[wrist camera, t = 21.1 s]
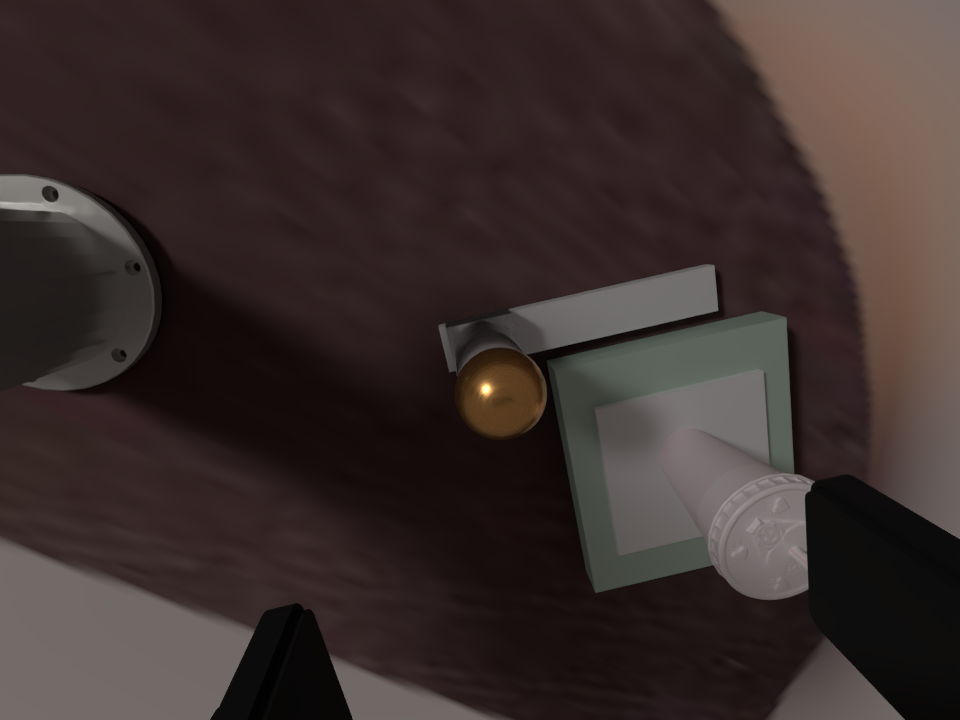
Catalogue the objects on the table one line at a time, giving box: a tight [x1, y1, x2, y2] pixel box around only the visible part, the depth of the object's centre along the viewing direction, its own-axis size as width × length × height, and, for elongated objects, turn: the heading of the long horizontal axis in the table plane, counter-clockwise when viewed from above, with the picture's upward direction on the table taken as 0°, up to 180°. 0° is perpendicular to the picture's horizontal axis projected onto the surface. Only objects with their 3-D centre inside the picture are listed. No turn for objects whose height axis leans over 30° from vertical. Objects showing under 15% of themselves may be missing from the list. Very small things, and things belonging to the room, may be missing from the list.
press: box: [439, 264, 794, 593], centre depth 33 cm, size 22×21×3 cm
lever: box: [445, 308, 547, 440], centre depth 25 cm, size 4×4×12 cm
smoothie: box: [658, 428, 815, 600], centre depth 26 cm, size 6×6×14 cm
